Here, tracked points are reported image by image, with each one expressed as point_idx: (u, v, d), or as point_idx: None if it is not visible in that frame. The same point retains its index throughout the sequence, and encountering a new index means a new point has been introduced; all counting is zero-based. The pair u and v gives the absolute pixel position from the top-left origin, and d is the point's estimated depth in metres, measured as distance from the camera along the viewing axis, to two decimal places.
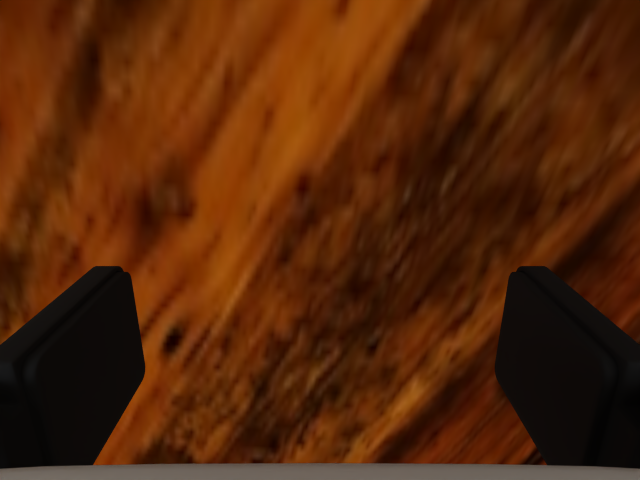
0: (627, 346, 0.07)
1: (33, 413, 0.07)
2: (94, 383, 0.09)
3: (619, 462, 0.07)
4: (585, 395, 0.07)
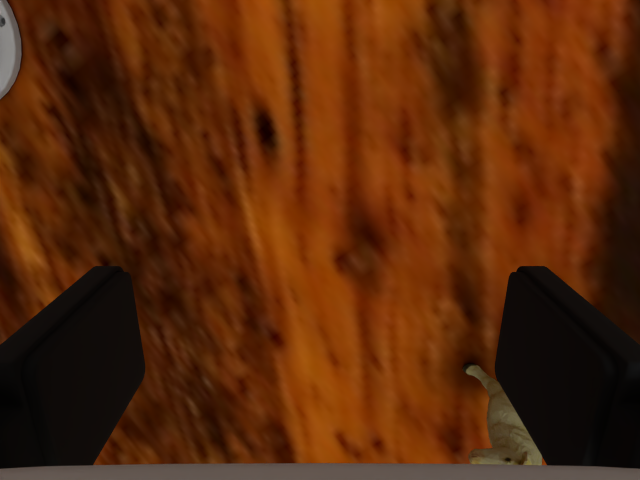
0: (627, 346, 0.07)
1: (33, 413, 0.07)
2: (94, 383, 0.09)
3: (619, 462, 0.07)
4: (585, 395, 0.07)
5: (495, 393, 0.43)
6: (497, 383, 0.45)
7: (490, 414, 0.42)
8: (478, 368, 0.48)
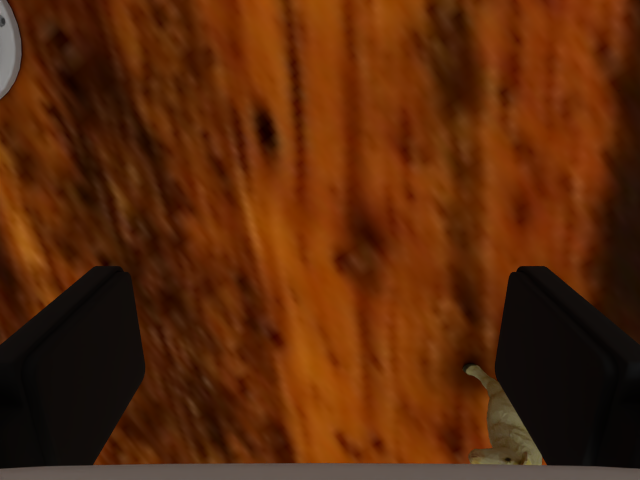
0: (627, 346, 0.07)
1: (33, 413, 0.07)
2: (94, 383, 0.09)
3: (619, 462, 0.07)
4: (585, 395, 0.07)
5: (495, 393, 0.43)
6: (497, 383, 0.45)
7: (490, 414, 0.42)
8: (478, 368, 0.48)
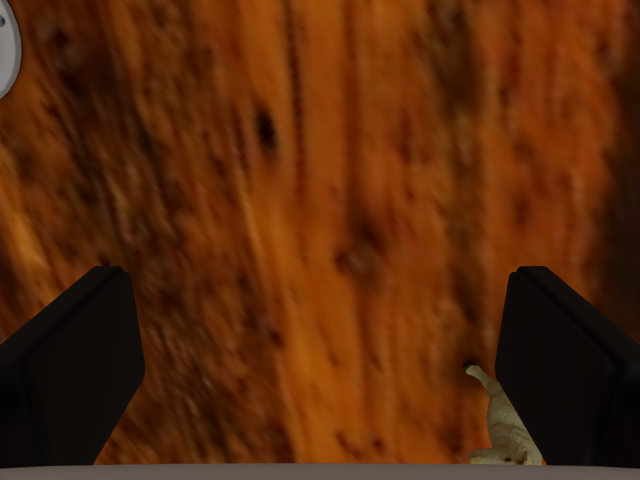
0: (627, 346, 0.07)
1: (33, 413, 0.07)
2: (94, 383, 0.09)
3: (619, 462, 0.07)
4: (585, 395, 0.07)
5: (495, 393, 0.43)
6: (497, 383, 0.45)
7: (490, 414, 0.42)
8: (478, 368, 0.48)
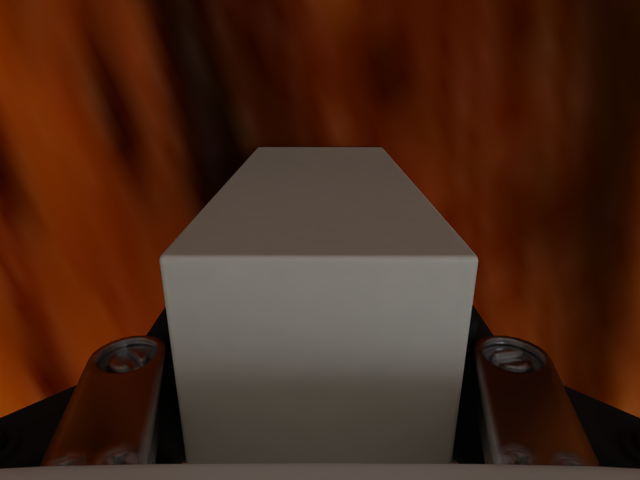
0: None
1: None
2: None
3: None
4: None
5: None
6: None
7: None
8: None
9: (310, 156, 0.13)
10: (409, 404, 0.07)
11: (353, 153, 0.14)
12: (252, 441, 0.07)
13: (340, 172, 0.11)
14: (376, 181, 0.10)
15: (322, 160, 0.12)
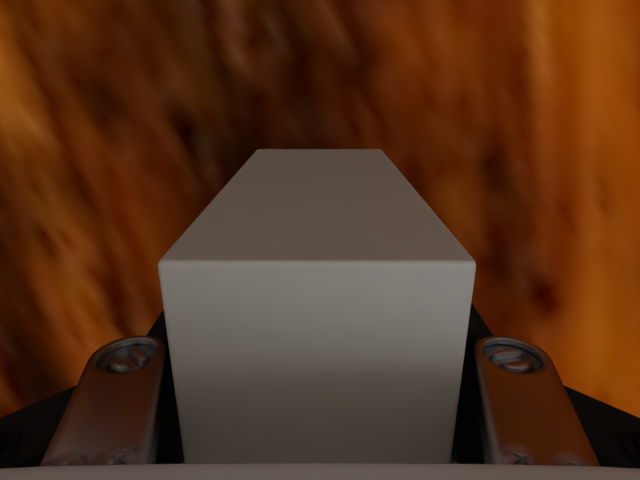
0: None
1: None
2: None
3: None
4: None
5: None
6: None
7: None
8: None
9: (309, 158, 0.13)
10: (407, 407, 0.07)
11: (352, 155, 0.14)
12: (250, 445, 0.07)
13: (339, 175, 0.11)
14: (375, 184, 0.10)
15: (321, 162, 0.13)
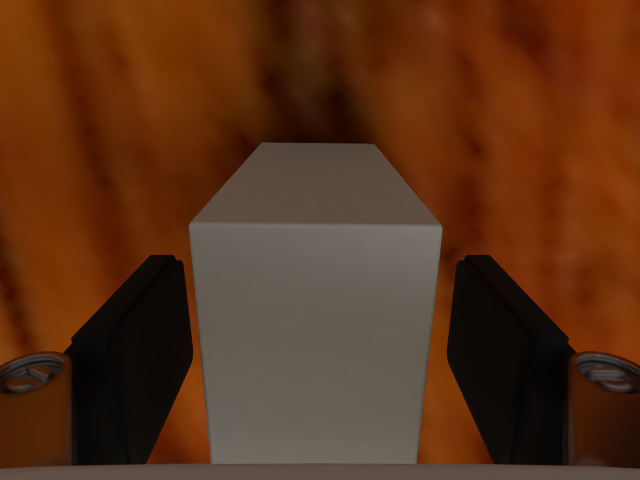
0: (542, 324, 0.08)
1: (115, 386, 0.08)
2: (158, 362, 0.09)
3: (532, 429, 0.08)
4: (507, 370, 0.08)
5: None
6: None
7: None
8: None
9: (309, 150, 0.15)
10: (388, 348, 0.08)
11: (348, 148, 0.15)
12: (260, 379, 0.08)
13: (335, 164, 0.13)
14: (366, 171, 0.12)
15: (320, 154, 0.14)
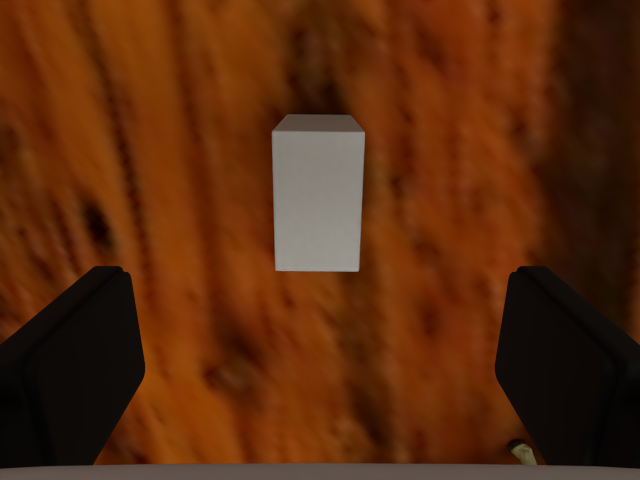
0: (627, 346, 0.07)
1: (33, 413, 0.07)
2: (94, 383, 0.09)
3: (619, 462, 0.07)
4: (585, 395, 0.07)
5: None
6: None
7: None
8: None
9: (314, 116, 0.27)
10: (346, 183, 0.21)
11: (335, 116, 0.28)
12: (296, 197, 0.21)
13: (327, 120, 0.25)
14: (342, 122, 0.24)
15: (319, 117, 0.27)
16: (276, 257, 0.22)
